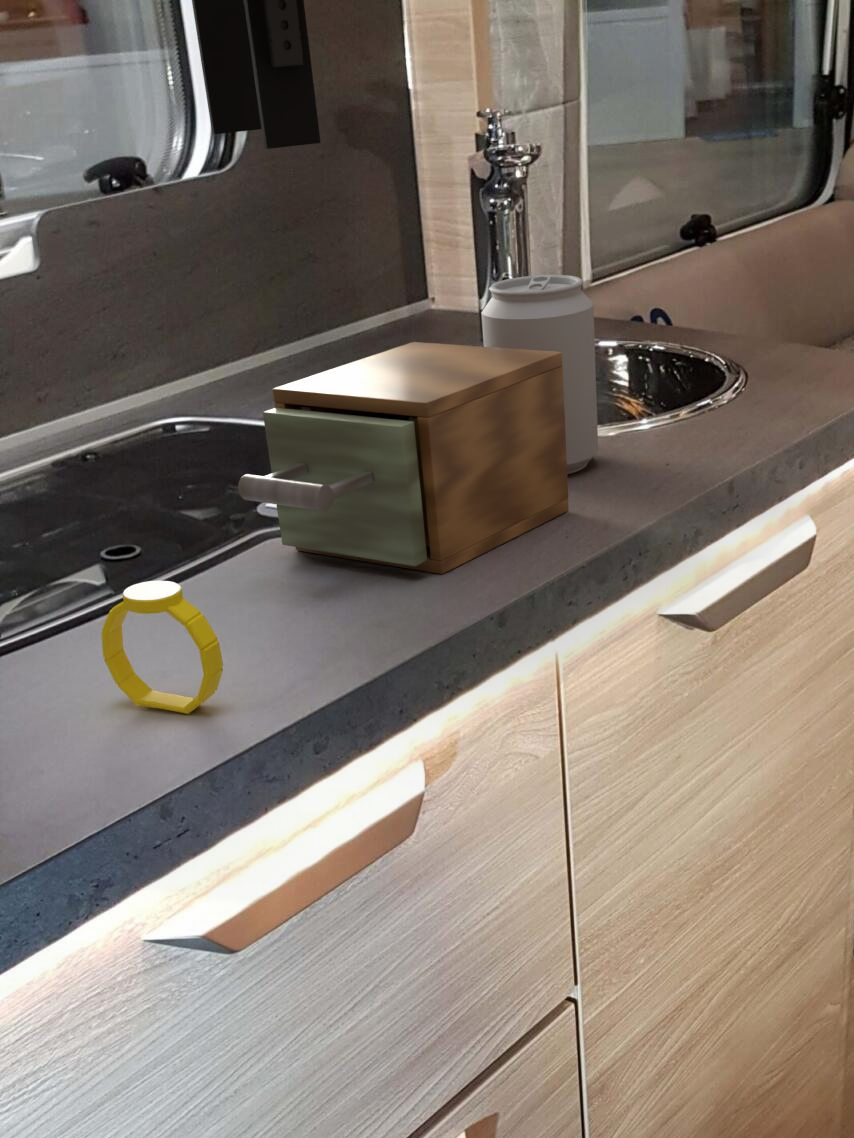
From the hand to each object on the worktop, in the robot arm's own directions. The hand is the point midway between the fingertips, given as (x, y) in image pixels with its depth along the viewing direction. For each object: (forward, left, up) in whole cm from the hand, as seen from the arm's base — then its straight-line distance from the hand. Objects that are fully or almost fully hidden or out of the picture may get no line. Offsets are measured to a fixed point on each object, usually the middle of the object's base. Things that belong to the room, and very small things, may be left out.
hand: (263, 139), depth 82 cm
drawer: (+4, +2, -22) cm, 22 cm away
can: (+8, +22, -23) cm, 32 cm away
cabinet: (+5, +7, -22) cm, 24 cm away
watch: (+2, -22, -23) cm, 32 cm away
